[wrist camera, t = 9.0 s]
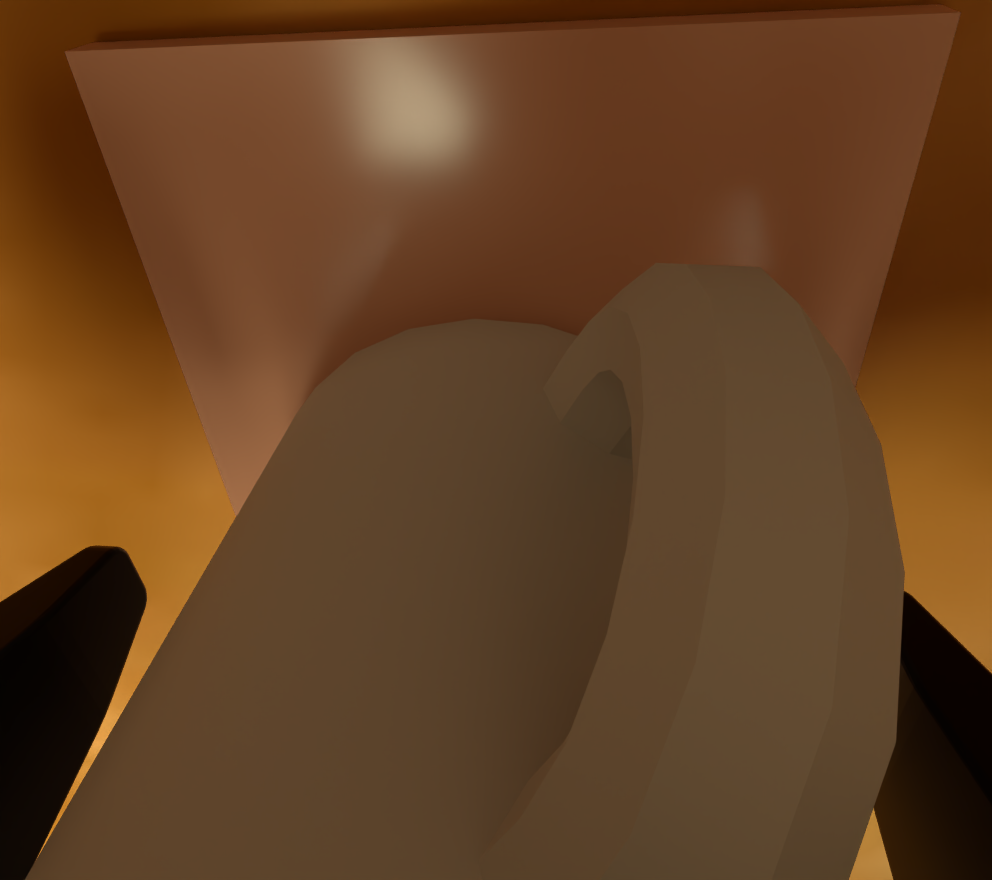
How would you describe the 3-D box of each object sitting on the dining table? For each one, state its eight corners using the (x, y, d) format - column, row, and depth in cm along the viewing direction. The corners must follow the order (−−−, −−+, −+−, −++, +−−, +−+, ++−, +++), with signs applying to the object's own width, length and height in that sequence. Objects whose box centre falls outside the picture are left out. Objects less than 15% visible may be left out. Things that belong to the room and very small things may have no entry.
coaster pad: (770, 643, 15) (775, 669, 14) (289, 612, 16) (279, 634, 16) (940, 3, 8) (961, 11, 8) (92, 42, 9) (64, 51, 9)
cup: (252, 548, 14) (-113, 1233, 7) (442, -14, 8) (-802, 852, 1) (591, 678, 15) (571, 1381, 8) (981, 273, 9) (2197, 1618, 2)
